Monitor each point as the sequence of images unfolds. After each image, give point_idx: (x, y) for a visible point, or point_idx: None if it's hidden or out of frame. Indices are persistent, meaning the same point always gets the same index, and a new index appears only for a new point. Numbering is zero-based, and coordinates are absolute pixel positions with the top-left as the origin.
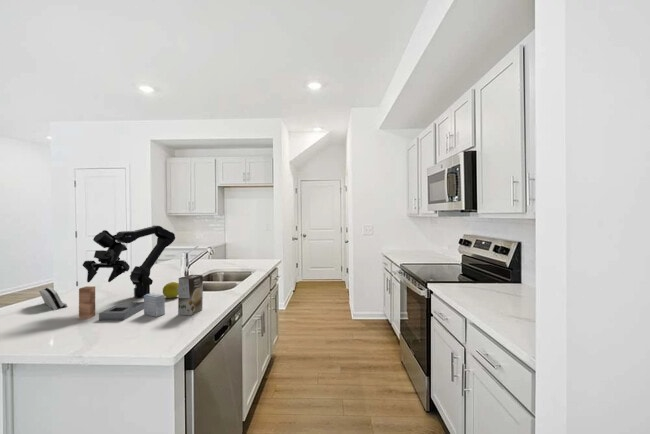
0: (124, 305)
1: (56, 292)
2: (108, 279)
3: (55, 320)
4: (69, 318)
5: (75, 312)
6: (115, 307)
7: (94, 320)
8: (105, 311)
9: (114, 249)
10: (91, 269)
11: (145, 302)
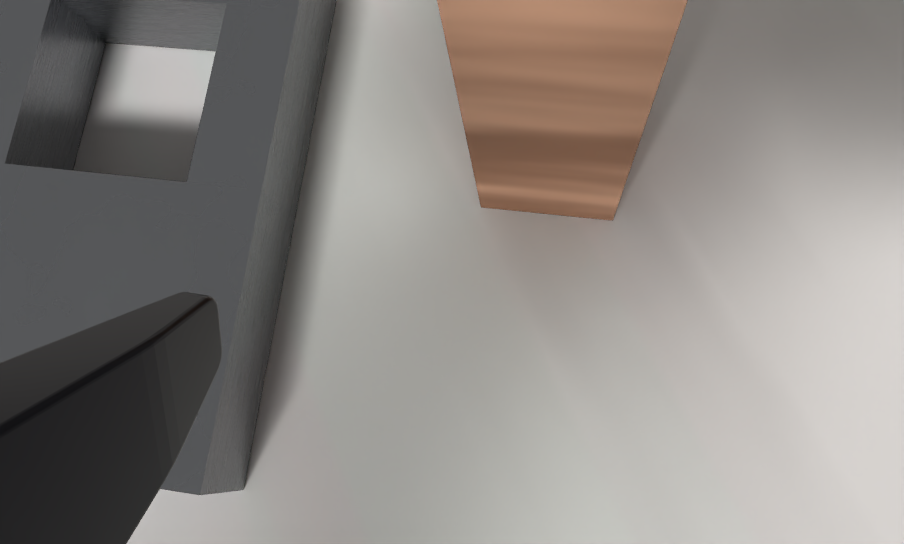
0: (98, 279)
1: None
2: (177, 308)
3: (886, 53)
4: (754, 114)
5: (863, 396)
6: (194, 184)
7: (388, 7)
8: (257, 5)
9: None
10: None
11: None
